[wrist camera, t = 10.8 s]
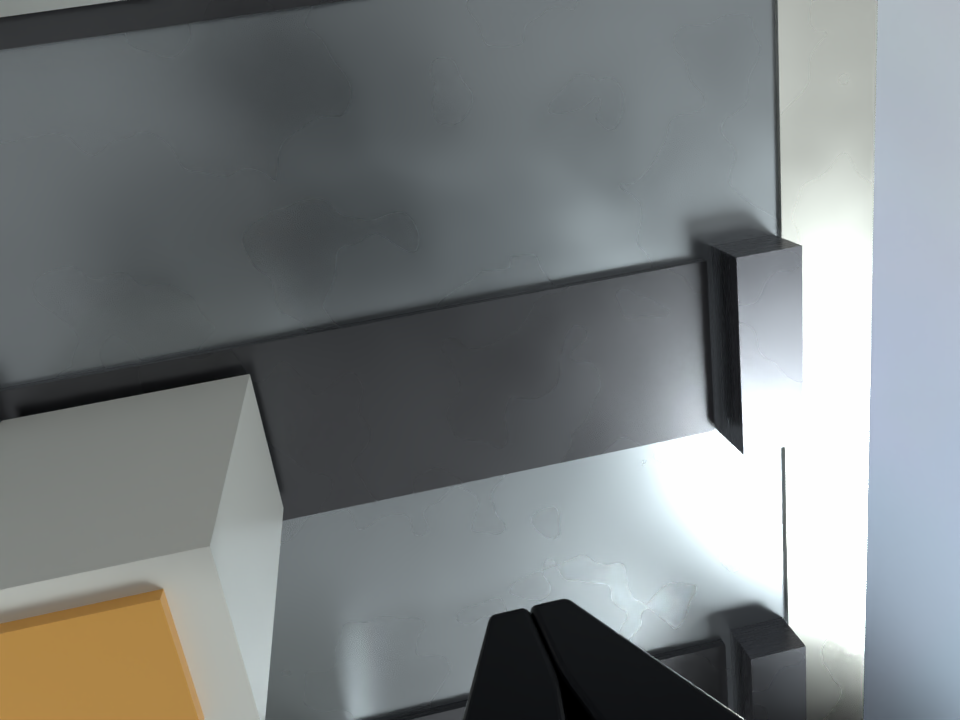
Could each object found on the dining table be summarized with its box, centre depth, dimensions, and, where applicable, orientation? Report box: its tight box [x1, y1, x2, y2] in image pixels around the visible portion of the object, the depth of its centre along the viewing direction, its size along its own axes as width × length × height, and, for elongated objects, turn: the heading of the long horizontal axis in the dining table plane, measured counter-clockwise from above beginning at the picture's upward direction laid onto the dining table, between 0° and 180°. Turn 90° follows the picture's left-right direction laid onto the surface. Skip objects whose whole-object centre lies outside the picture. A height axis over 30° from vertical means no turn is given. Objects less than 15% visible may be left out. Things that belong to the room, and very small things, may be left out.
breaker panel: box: [0, 0, 878, 720], centre depth 16 cm, size 21×19×3 cm
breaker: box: [0, 374, 284, 720], centre depth 12 cm, size 3×4×6 cm, turn 98°
